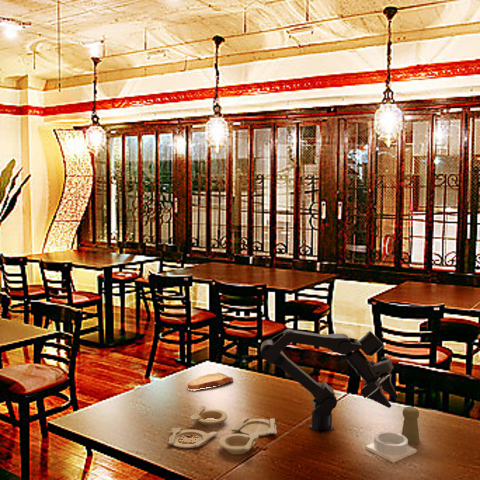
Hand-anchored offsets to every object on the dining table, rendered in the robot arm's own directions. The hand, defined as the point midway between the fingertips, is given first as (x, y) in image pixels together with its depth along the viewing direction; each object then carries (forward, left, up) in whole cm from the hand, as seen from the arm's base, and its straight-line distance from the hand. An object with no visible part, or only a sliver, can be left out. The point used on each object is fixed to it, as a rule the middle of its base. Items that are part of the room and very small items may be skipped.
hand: (393, 402), depth 186 cm
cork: (+2, -5, -12) cm, 13 cm away
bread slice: (-22, +79, -12) cm, 83 cm away
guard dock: (-9, -6, -12) cm, 16 cm away
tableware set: (-45, +35, -12) cm, 58 cm away
